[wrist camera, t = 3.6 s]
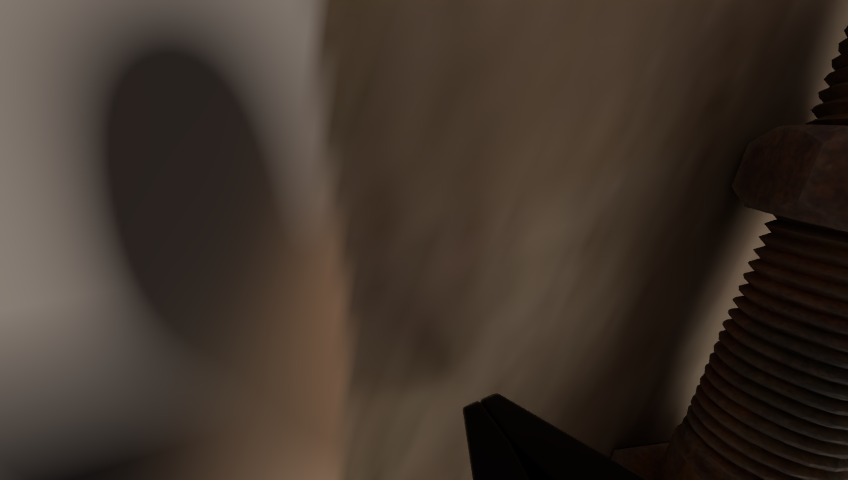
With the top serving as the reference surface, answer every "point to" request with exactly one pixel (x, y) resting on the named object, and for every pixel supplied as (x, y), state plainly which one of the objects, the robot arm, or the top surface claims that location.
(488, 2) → the top surface
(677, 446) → the bolt
